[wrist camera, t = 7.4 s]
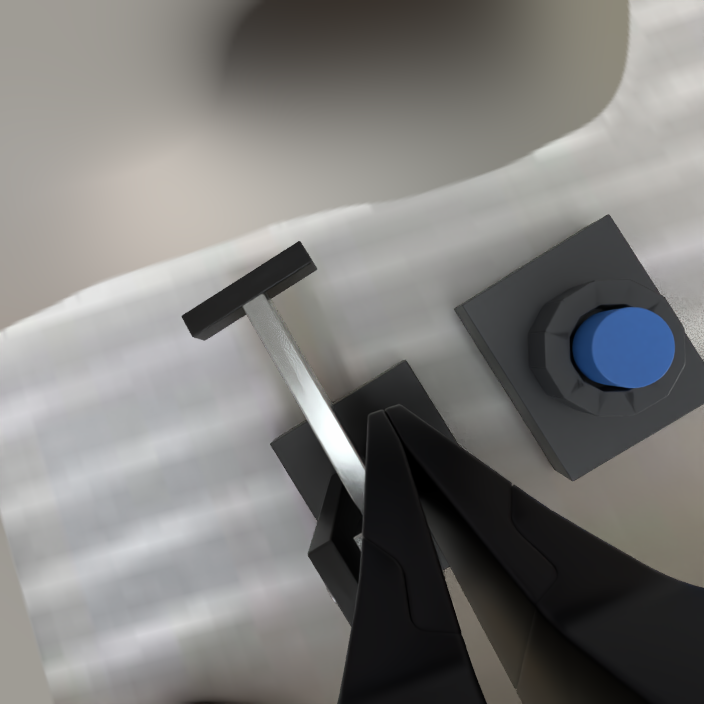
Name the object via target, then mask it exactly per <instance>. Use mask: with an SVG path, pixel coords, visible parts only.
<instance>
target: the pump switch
mask: <svg viewBox="0 0 704 704" xmlns="http://www.w3.org/2000/svg"><path fill="white" fill-rule="evenodd" d="M626 307H639V308H644V309H647V310H650V311H652V312H654V313H655V314H657V315H658V316H660V317H661V318H662V319H663V320H664V321H665V322H666V323H667V325H668V326H669V328H670V330H671V332H672V334H673V337H674V342H675V353H674V358H673V361H672V363H671V365H670V367H669V369H668V370H667V372H666V373H665V374H664V375H663V376H662V377H661V378H660V379H659V380H657V381H656V382H654V383H652V384H650V385H647V386H645V387H640V388H624V387H617V386H610V385H604V384H600V383H597V382H594V381H592V380H591V379H589V378H587V377H586V376H585V375H584V374H583V373H582V372H581V371H580V369H579V368H578V366H577V365H576V363H575V360H574V357H573V351H572V345H573V339H574V336H575V333H576V331H577V330H578V328H579V326H580V325H581V324H582V323H583V322H584V321H585V320H586V319H587V318H589V317H590V316H592V315H594V314H596V313H599V312H603V311H608V310H614V309H620V308H626ZM454 310H455V311H456V313H457V315H458V316H459V318H460V319H461V321H462V323H463V324H464V326H465V327H466V329H467V330H468V332H469V334H470V335H471V337H472V338H473V340H474V342H475V343H476V345H477V346H478V348H479V350H480V351H481V353H482V354H483V356H484V358H485V359H486V361H487V362H488V364H489V366H490V367H491V369H492V370H493V372H494V374H495V375H496V377H497V378H498V380H499V381H500V383H501V385H502V386H503V388H504V389H505V391H506V393H507V394H508V396H509V397H510V399H511V401H512V402H513V404H514V405H515V407H516V409H517V410H518V412H519V413H520V415H521V417H522V418H523V420H524V421H525V423H526V425H527V426H528V428H529V429H530V431H531V432H532V434H533V436H534V437H535V439H536V440H537V442H538V444H539V445H540V447H541V448H542V450H543V452H544V453H545V455H546V456H547V458H548V460H549V461H550V463H551V464H552V466H553V468H554V469H555V470H556V471H557V472H559V473H560V474H562V475H564V476H565V477H567V478H568V479H570V480H571V481H574V480H576V479H578V478H579V477H581V476H583V475H585V474H586V473H588V472H590V471H591V470H593V469H595V468H596V467H598V466H600V465H601V464H603V463H605V462H607V461H608V460H610V459H612V458H613V457H615V456H617V455H618V454H620V453H622V452H623V451H625V450H627V449H628V448H630V447H632V446H634V445H635V444H637V443H639V442H640V441H642V440H644V439H645V438H647V437H649V436H650V435H652V434H654V433H656V432H657V431H659V430H661V429H662V428H664V427H666V426H667V425H669V424H671V423H672V422H674V421H676V420H678V419H679V418H681V417H683V416H684V415H686V414H688V413H689V412H691V411H693V410H694V409H696V408H698V407H700V406H701V405H703V404H704V361H703V360H702V358H701V357H700V355H699V354H698V352H697V351H696V349H695V347H694V346H693V344H692V343H691V341H690V340H689V338H688V336H687V335H686V333H685V330H684V328H683V325H682V323H681V322H680V320H679V319H678V317H677V316H676V314H675V312H674V311H673V309H672V308H671V306H670V305H669V303H668V302H667V300H666V298H665V297H663V295H661V294H660V293H659V291H658V290H657V288H656V287H655V285H654V283H653V282H652V280H651V279H650V277H649V276H648V274H647V272H646V271H645V269H644V268H643V266H642V265H641V263H640V262H639V260H638V258H637V257H636V255H635V254H634V252H633V251H632V249H631V247H630V246H629V244H628V243H627V241H626V240H625V238H624V237H623V235H622V233H621V232H620V230H619V229H618V227H617V226H616V224H615V223H614V221H613V219H612V218H611V216H610V215H609V214H608V215H606V216H604V217H603V218H601V219H599V220H597V221H596V222H594V223H592V224H590V225H589V226H587V227H585V228H584V229H582V230H580V231H579V232H577V233H576V234H574V235H572V236H571V237H569V238H568V239H566V240H564V241H563V242H561V243H559V244H558V245H556V246H555V247H553V248H551V249H550V250H548V251H547V252H545V253H543V254H542V255H540V256H538V257H537V258H535V259H534V260H532V261H530V262H529V263H527V264H525V265H524V266H522V267H521V268H519V269H517V270H516V271H514V272H513V273H511V274H509V275H508V276H506V277H504V278H503V279H501V280H500V281H498V282H496V283H495V284H493V285H492V286H490V287H488V288H487V289H485V290H483V291H482V292H480V293H479V294H477V295H475V296H474V297H472V298H470V299H469V300H467V301H466V302H464V303H462V304H461V305H459V306H458V307H456V308H455V309H454Z"/></svg>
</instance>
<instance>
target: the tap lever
mask: <svg viewBox="0 0 704 704" xmlns="http://www.w3.org/2000/svg"><path fill="white" fill-rule="evenodd" d="M316 270H317V267H316V266H315V264H314V262H313V261H312V259H311V258H310V256H309V254H308V253H307V251H306V250H305V248H304V246H303V245H302V243H301V242H300V241H298V242H297V243H295V244H294V245H292V246H291V247H289V248H287V249H286V250H284V251H283V252H281V253H280V254H278V255H277V256H275V257H273V258H272V259H270V260H269V261H267V262H266V263H264V264H262V265H261V266H259V267H258V268H256V269H255V270H253V271H251V272H250V273H248V274H247V275H245V276H244V277H242V278H240V279H239V280H237V281H236V282H234V283H233V284H231V285H229V286H228V287H226V288H225V289H223V290H222V291H220V292H218V293H217V294H215V295H214V296H212V297H211V298H209V299H207V300H206V301H204V302H203V303H201V304H200V305H198V306H196V307H195V308H193V309H192V310H190V311H189V312H187V313H185V314H184V315H182V318H183V320H184V322H185V324H186V326H187V328H188V329H189V331H190V333H191V335H192V337H194V338H198V339H201V340H207V339H208V338H210V337H211V336H213V335H215V334H216V333H218V332H219V331H221V330H222V329H224V328H226V327H227V326H229V325H230V324H232V323H234V322H235V321H237V320H238V319H240V318H241V317H243V316H245V315H247V316H248V318H249V320H250V322H251V323H252V325H253V327H254V329H255V330H256V332H257V334H258V336H259V337H260V339H261V341H262V343H263V344H264V346H265V348H266V350H267V351H268V353H269V355H270V357H271V358H272V360H273V362H274V364H275V365H276V367H277V369H278V371H279V372H280V374H281V376H282V378H283V379H284V381H285V383H286V385H287V386H288V388H289V390H290V392H291V393H292V395H293V397H294V399H295V400H296V402H297V404H298V406H299V407H300V409H301V411H302V413H303V414H304V416H305V418H306V420H307V421H308V423H309V425H310V427H311V428H312V430H313V432H314V434H315V435H316V437H317V439H318V441H319V442H320V444H321V446H322V448H323V449H324V451H325V453H326V455H327V456H328V458H329V460H330V462H331V463H332V465H333V467H334V469H335V470H336V472H337V474H338V476H339V477H340V479H341V481H342V483H343V484H344V486H345V488H346V490H347V491H348V493H349V495H350V497H351V498H352V500H353V502H354V504H355V505H356V507H357V509H358V511H359V512H360V514H361V516H362V518H360V519H359V522H358V525H357V528H356V531H355V534H354V537H353V541H354V543H355V544H356V546H357V548H358V550H359V552H360V553H361V543H362V539H363V537H362V527H363V506H364V485H365V464H366V460H365V458H364V457H363V455H362V453H361V452H360V450H359V448H358V446H357V445H356V443H355V441H354V440H353V438H352V436H351V435H350V433H349V431H348V429H347V428H346V426H345V424H344V423H343V421H342V419H341V418H340V416H339V414H338V412H337V411H336V409H335V407H334V406H333V404H332V402H331V401H330V399H329V397H328V395H327V394H326V392H325V390H324V389H323V387H322V385H321V384H320V382H319V380H318V378H317V377H316V375H315V373H314V372H313V370H312V368H311V367H310V365H309V363H308V361H307V360H306V358H305V356H304V355H303V353H302V351H301V350H300V348H299V346H298V344H297V343H296V341H295V339H294V338H293V336H292V334H291V333H290V331H289V329H288V327H287V326H286V324H285V322H284V321H283V319H282V317H281V316H280V314H279V312H278V310H277V309H276V307H275V305H274V304H273V302H272V300H271V298H273V297H275V296H276V295H278V294H279V293H281V292H283V291H284V290H286V289H287V288H289V287H290V286H292V285H294V284H295V283H297V282H298V281H300V280H302V279H303V278H305V277H306V276H308V275H309V274H311V273H313V272H314V271H316ZM435 549H436V548H435ZM436 552H437V555H438V558H439V562H440V565H441V568H442V564H441V560H440V556H439V553H438V551H437V549H436ZM442 571H443V568H442ZM443 575H444V571H443ZM444 578H445V575H444Z"/></svg>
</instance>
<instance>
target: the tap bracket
mask: <svg viewBox="0 0 704 704" xmlns="http://www.w3.org/2000/svg"><path fill="white" fill-rule="evenodd" d="M398 404H400V405H402V406H404V407H405V408H406V409H408V410H409V411H411V412H412V413H414V414H415V415H416V416H418V417H419V418H421V419H422V420H423V421H425V422H426V423H428V424H429V425H431V426H432V427H433V428H435V429H436V430H438V431H439V432H440V433H442V434H443V435H445V436H446V437H447V438H449V439H450V440H452V441H453V442H455V443H456V444H457V445H458V443H457V441H456V440H455V438H454V437H453V435H452V433H451V432H450V430H449V428H448V427H447V425H446V424H445V422H444V420H443V419H442V417H441V416H440V414H439V412H438V411H437V409H436V408H435V406H434V404H433V403H432V401H431V400H430V398H429V396H428V395H427V393H426V392H425V390H424V388H423V387H422V385H421V383H420V382H419V380H418V379H417V377H416V375H415V374H414V372H413V371H412V369H411V367H410V366H409V364H408V363H407V361H406V360H403V361H401V362H400V363H398V364H396V365H395V366H393V367H391V368H390V369H388V370H387V371H385V372H383V373H382V374H380V375H378V376H377V377H375V378H374V379H372V380H370V381H369V382H367V383H365V384H364V385H362V386H361V387H359V388H357V389H356V390H354V391H352V392H351V393H349V394H348V395H346V396H344V397H343V398H341V399H339V400H338V401H336V402H335V403H333V406H334V407H335V409H336V411H337V412H338V414H339V416H340V418H341V419H342V421H343V423H344V424H345V426H346V428H347V429H348V431H349V433H350V435H351V436H352V438H353V440H354V441H355V443H356V445H357V446H358V448H359V450H360V452H361V453H362V455H363V457H364V458H365V460H366V443H367V422H368V415H369V414H370V413H373V412H376V411H379V410H384V411H385V409H386V408H388V407H391V406H395V405H398ZM270 445H271V446H272V448H273V450H274V451H275V453H276V455H277V456H278V458H279V459H280V461H281V463H282V464H283V466H284V468H285V469H286V471H287V473H288V474H289V476H290V477H291V479H292V481H293V482H294V484H295V486H296V487H297V489H298V491H299V492H300V494H301V495H302V497H303V499H304V500H305V502H306V504H307V505H308V507H309V509H310V510H311V512H312V513H313V515H314V517H315V518H316V520H317V525H316V528H315V531H314V535H313V538H312V541H311V545H310V548H309V551H308V557H309V558H310V560H311V561H312V563H313V565H314V566H315V568H316V570H317V571H318V573H319V575H320V576H321V578H322V580H323V581H324V583H325V585H326V588H327V590H328V593H329V594H330V596H331V598H332V599H333V601H334V602H335V603H336V604H338V606H339V607H340V609H341V611H342V612H343V614H344V616H345V617H346V619H347V621H348V622H349V624H350V625H351V627H352V622H353V617H354V611H355V604H356V597H357V590H358V583H359V573H360V561H361V553H360V552H359V550H358V548H357V546H356V544H355V543H354V541H353V537H354V534H355V531H356V528H357V525H358V522H359V519H360V518H362V516H361V514H360V512H359V511H358V509H357V507H356V505H355V504H354V502H353V500H352V498H351V497H350V495H349V493H348V491H347V490H346V488H345V486H344V484H343V483H342V481H341V479H340V477H339V476H338V474H337V472H336V470H335V469H334V467H333V465H332V463H331V462H330V460H329V458H328V456H327V455H326V453H325V451H324V449H323V448H322V446H321V444H320V442H319V441H318V439H317V437H316V435H315V434H314V432H313V430H312V428H311V427H310V425H309V423H308V421H307V420H305V421H304V422H302V423H301V424H299V425H297V426H296V427H294V428H292V429H291V430H289V431H288V432H286V433H284V434H283V435H281V436H279V437H278V438H276V439H275V440H274V441H273V442H272V443H271V444H270ZM429 529H430V528H429ZM430 533H431V536H432V539H433V542H434V546H435V548H436V549H437V551H438V553H439V556H440V560H441V564H442V568H443V570H444V569H446V568H448V567H450V565H449V564H448V562H447V560H446V558H445V556H444V554H443V552H442V550H441V549H440V547H439V545H438V543H437V541H436V539H435V537H434V535H433V533H432V532H431V530H430Z"/></svg>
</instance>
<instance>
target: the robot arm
mask: <svg viewBox="0 0 704 704" xmlns="http://www.w3.org/2000/svg"><path fill="white" fill-rule="evenodd" d="M429 528H430V529H429ZM430 530H431V532H432V533H433V535H434V537H435V539H436V541H437V543H438V545H439V547H440V549H441V550H442V552H443V554H444V556H445V558H446V560H447V562H448V564H449V565H450V567H451V569H452V571H453V573H454V575H455V577H456V579H457V581H458V582H459V584H460V586H461V588H462V590H463V592H464V594H465V596H466V597H467V599H468V601H469V603H470V605H471V607H472V609H473V611H474V612H475V614H476V616H477V618H478V620H479V622H480V624H481V626H482V628H483V629H484V631H485V633H486V635H487V637H488V639H489V641H490V643H491V644H492V646H493V648H494V650H495V652H496V654H497V656H498V658H499V660H500V661H501V663H502V665H503V667H504V669H505V671H506V673H507V675H508V676H509V678H510V680H511V682H512V684H513V686H514V688H515V689H517V690H516V691H517V694H518V695H519V697H520V699H521V701H522V703H523V704H704V588H702V587H698V586H695V585H691V584H688V583H685V582H682V581H679V580H677V579H674V578H672V577H670V576H667V575H665V574H663V573H661V572H659V571H656V570H654V569H652V568H651V567H649V566H647V565H645V564H643V563H641V562H640V561H638V560H636V559H634V558H633V557H631V556H629V555H627V554H626V553H624V552H622V551H621V550H619V549H617V548H615V547H614V546H612V545H610V544H608V543H607V542H605V541H603V540H601V539H600V538H598V537H596V536H594V535H593V534H591V533H589V532H587V531H586V530H584V529H582V528H580V527H579V526H577V525H575V524H574V523H572V522H570V521H569V520H567V519H565V518H564V517H562V516H560V515H559V514H557V513H555V512H554V511H552V510H550V509H549V508H547V507H546V506H544V505H543V504H541V503H540V502H539V501H537V500H536V499H534V498H533V497H531V496H530V495H528V494H527V493H525V492H524V491H523V490H521V489H520V488H518V487H517V486H516V485H512V483H511V482H510V481H508V480H507V479H505V478H504V477H503V476H501V475H500V474H498V473H497V472H496V471H494V470H493V469H491V468H490V467H488V466H487V465H486V464H484V463H483V462H481V461H480V460H479V459H477V458H476V457H474V456H473V455H471V454H470V453H469V452H467V451H466V450H464V449H463V448H462V447H460V446H459V445H457V444H456V443H455V442H453V441H452V440H450V439H449V438H447V437H446V436H445V435H443V434H442V433H440V432H439V431H438V430H436V429H435V428H433V427H432V426H431V425H429V424H428V423H426V422H425V421H423V420H422V419H421V418H419V417H418V416H416V415H415V414H414V413H412V412H411V411H409V410H408V409H406V408H405V407H404V406H402V405H400V404H398V405H395V406H391V407H388V408H386V409H385V411H384V410H379V411H376V412H373V413H370V414H369V415H368V422H367V443H366V464H365V485H364V506H363V527H362V537H363V539H362V543H361V561H360V573H359V583H358V590H357V597H356V604H355V611H354V617H353V622H352V628H351V634H350V639H349V645H348V651H347V656H346V662H345V667H344V673H343V679H342V684H341V689H340V694H339V698H338V703H337V704H487V703H486V700H485V698H484V695H483V693H482V690H481V688H480V685H479V683H478V680H477V677H476V675H475V672H474V669H473V666H472V663H471V660H470V657H469V655H468V651H467V648H466V645H465V642H464V639H463V637H462V635H461V629H460V626H459V623H458V620H457V616H456V613H455V610H454V607H453V603H452V600H451V597H450V594H449V591H448V587H447V584H446V581H445V578H444V575H443V571H442V568H441V565H440V562H439V558H438V555H437V552H436V549H435V546H434V542H433V539H432V536H431V533H430Z"/></svg>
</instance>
